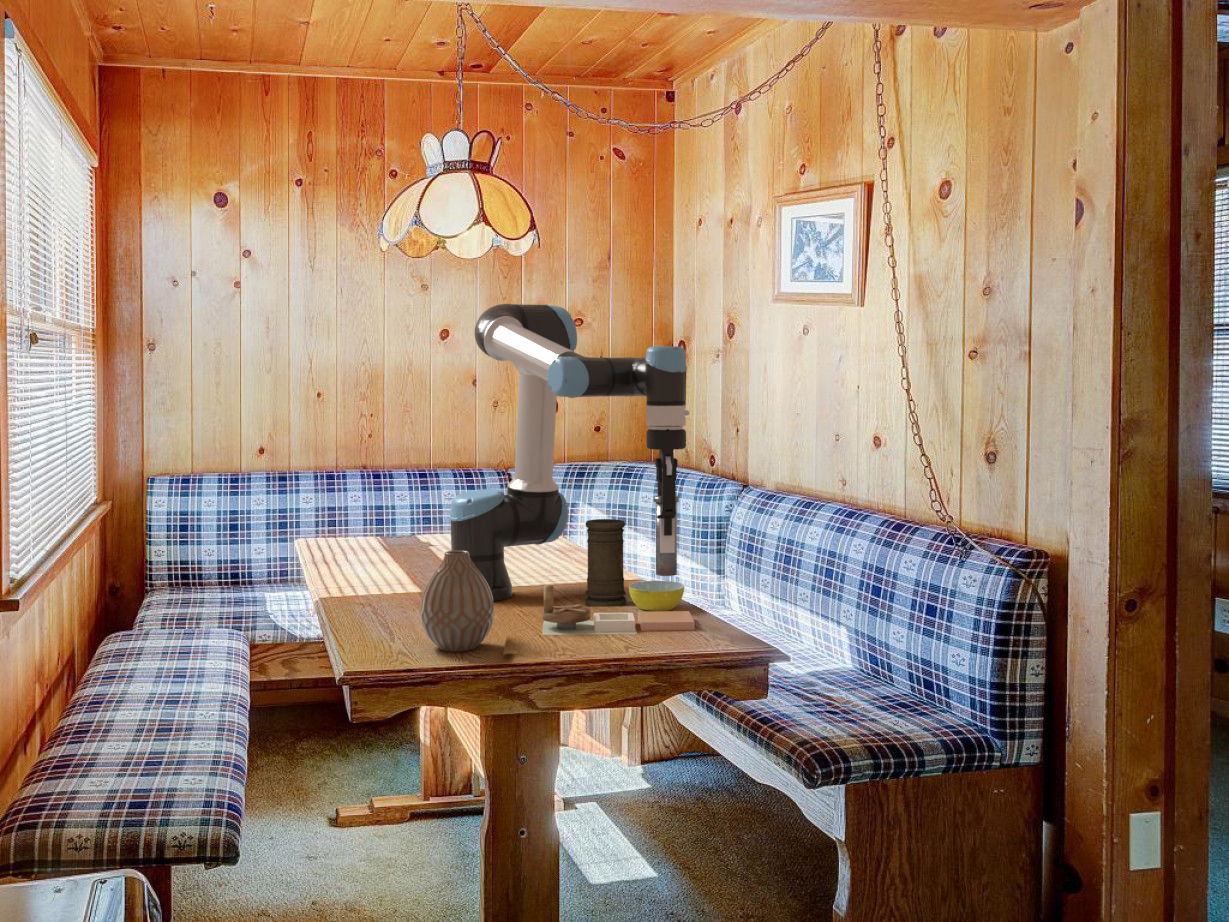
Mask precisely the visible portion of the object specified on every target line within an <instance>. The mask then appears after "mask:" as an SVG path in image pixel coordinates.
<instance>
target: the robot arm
mask: <svg viewBox="0 0 1229 922" xmlns="http://www.w3.org/2000/svg"><path fill="white" fill-rule="evenodd" d="M474 339H475V342H476V344H477V346H478V348H479V349H480V351H482V353H484V354H485V355H486V356H488V357H490V358H492V359H493V360H496V361H501V362H502V361H503V362H506V361H508V362H510V363H512V366H513V367H514V368H515V369H516V370H517V371H518V374H519V375H518V396H517V417H516V436H515V437H516V439H515V440H516V441H515V462H514V463H515V466H514V477H513V478H512V480H510V482H509V483H508V484H507V490H506V494H505V493H504V491H503V489H499V488H487V489H478V490H476V489H475V490H471V491H466V492H463V493H459V494H457V495H456V496H455V497H453V499H452V500H451V504H450V505H451V506H450V515H449V519H450V545H451V546H450V551H458V550H459V551H468V552H469V554H470V558H471V560H472V562H473V564H474V565H475V566H476V567H477V569H478V570H479V571H480V572H481V574H482V575H483V577H484V578H485V580H486V581H487V583H488V585H489V587H490V590H491V593H492V596H493V602H495V601H496V602H497V601H501V600H502V601H503V600H506V599H509V598H511V597H512V596H513V585H512V584H513V583H512V582H511V578H510V575H509V573H508V570H507V566H506V563H505V548H508V547H517V546H518V547H520V546H528V545H530V546H531V545H537V546H538V545H543V544H545V543H553V542H555V541H557V540H558V539H559V538H560V537H561V536H562V535H563V533H564V531H565V530H566V528H567V524H568V523H567V522H568V519H569V518H568V517H569V508H568V505H567V500H566V497H565V496H564V495H563V494H562V493H561V492H560V491H559V489H560V487H559V485H558V484H557V483H556V482H555V480H554V479H553V474H554V457H555V456H554V455H555V439H556V438H555V436H556V418H557V417H556V416H557V399H558V398H557V397H560V398H561V397H564V398H570V399H575V398H591V397H592V398H594V397H632V398H633V397H646V407H645V416H646V417H645V425H646V426H647V427H649V429H647V430H646V448H647V449H649V450H659V451H658V457H657V458H655V462H654V464H655V465H654V466H655V469H656V470H655V472H656V474H655V475H656V476H655V477H656V483H657V485H656V486H657V487H656V488H657V495H661V515H657V519H660V553H675V518H674V517H675V515H676V495H677V494H676V493H677V492H676V491H677V490H676V483H677V482H676V481H677V468H678V463H679V462H678V459H677V458H676V457H675V456H674V455H675V454H674V450H683V449H686V447H687V430H686V429H685V428H683V427H686V426H687V417H686V416H689V415H690V411H689V410H688V409H687V407H686V406H687V372H688V371H687V370H688V367H687V359H686V358H687V357H686V350H685V348H684V347H682V346H668V345H667V346H661V345H660V346H650V347H647V349H646V354H645V357H634V356H633V357H632V356H629V357H597V356H596V357H593V356H592V357H589V356H583V355H581V354H579V353H576V351H575V350H577V346H578V330H577V327H576V323H575V321H574V318H572V315H571V314H570V312H569V311H568V310H567V309H565V307H562V306H558V305H549V304H547V303H546V304H522V303H521V304H519V303H516V304H514V303H513V304H512V303H502V304H500V303H499V304H496V305H494V306H491V307H489V308H488V309H486V310H485V311H484V312H483V313H481V315H480V316H479V317H478V318H477V320H476V323H475V327H474Z"/></svg>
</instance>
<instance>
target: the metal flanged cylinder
mask: <svg viewBox="0 0 1229 922" xmlns="http://www.w3.org/2000/svg"><path fill="white" fill-rule="evenodd" d="M679 502H680V496H679V495H677V494H676V515H675V517H674V518H675V553H660V519H657V515H661V495H654V496H653V503H655V575H656V576H660V577H673V576H677V574H678V503H679Z"/></svg>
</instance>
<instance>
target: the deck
mask: <svg viewBox="0 0 1229 922" xmlns="http://www.w3.org/2000/svg"><path fill="white" fill-rule="evenodd" d="M541 633H542V634H541V635H542V636H582V635H583V636H584V635H585V636H586V635H587V636H588V635H589V636H591V635H593V636H595V635H598V636H600V635H602V636H603V635H604V636H605V635H606V636H607V635H637V634H638V631H637V629H636V620H635V615H634V613H633V612H593V620H587V621H584V622H578V623H553V622H548V621H545V620H543V622H542V632H541Z"/></svg>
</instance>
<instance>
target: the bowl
mask: <svg viewBox="0 0 1229 922" xmlns="http://www.w3.org/2000/svg"><path fill="white" fill-rule="evenodd" d="M628 592H629V596H630V597H631V600H632V601H633V603H634V604H635V605H636V606H637V607H638V608H639V609H640V610H643V611H645V612H653V611H671V610H673V609H674V608H676V607H677V606H678V605H679V603H680V602H681V601H682V598H683V596H684V592H685V584H683V583H681V582H678V581H673V580H672V581H669V580H644V581H636V582H633V583H630V584H629V585H628Z"/></svg>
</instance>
